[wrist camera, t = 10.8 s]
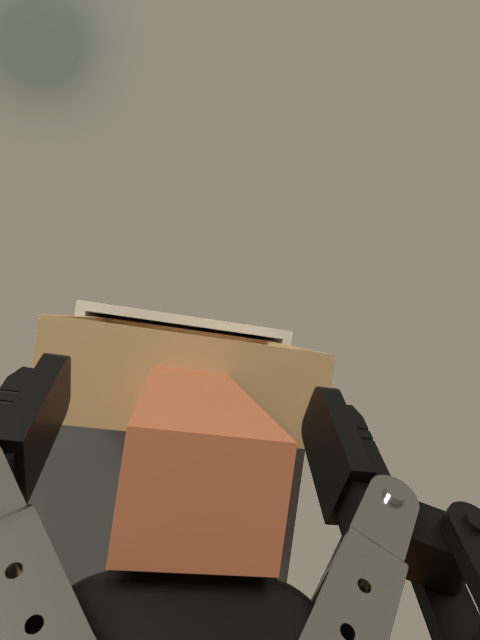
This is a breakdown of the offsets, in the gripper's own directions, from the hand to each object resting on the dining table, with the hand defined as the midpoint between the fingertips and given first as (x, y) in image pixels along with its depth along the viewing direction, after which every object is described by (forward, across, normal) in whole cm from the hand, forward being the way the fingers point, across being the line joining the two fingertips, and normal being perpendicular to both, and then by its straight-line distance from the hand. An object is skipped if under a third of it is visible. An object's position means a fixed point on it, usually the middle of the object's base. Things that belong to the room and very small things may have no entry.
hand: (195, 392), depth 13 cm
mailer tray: (+3, 0, -4) cm, 5 cm away
